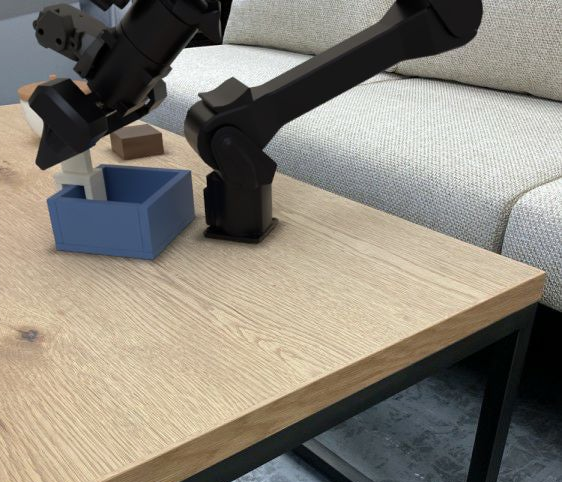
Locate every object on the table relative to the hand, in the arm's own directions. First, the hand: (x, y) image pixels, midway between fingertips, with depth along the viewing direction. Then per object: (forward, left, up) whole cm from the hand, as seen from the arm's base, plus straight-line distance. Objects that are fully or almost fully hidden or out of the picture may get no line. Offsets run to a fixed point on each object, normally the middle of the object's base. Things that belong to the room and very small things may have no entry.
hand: (62, 153), depth 74 cm
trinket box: (+22, -30, -8) cm, 38 cm away
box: (-6, -1, -8) cm, 10 cm away
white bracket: (-1, 0, -6) cm, 6 cm away
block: (+8, -28, -8) cm, 30 cm away
